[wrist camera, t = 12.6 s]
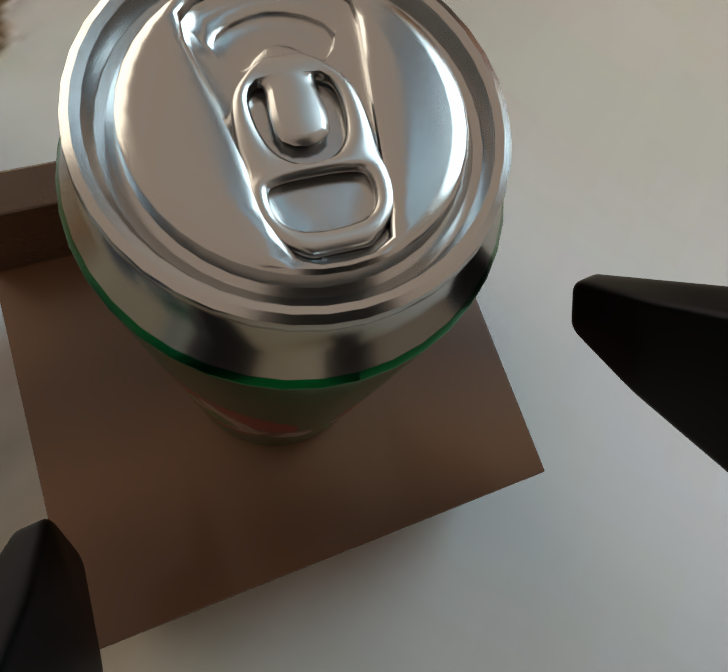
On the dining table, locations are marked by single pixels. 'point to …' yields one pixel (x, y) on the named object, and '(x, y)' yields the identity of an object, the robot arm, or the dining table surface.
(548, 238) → the dining table surface
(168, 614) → the low shelf
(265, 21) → the soda can
